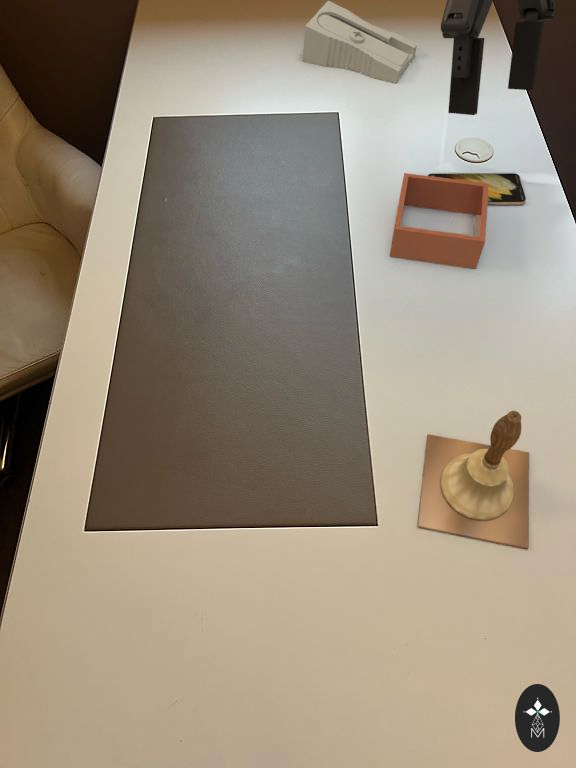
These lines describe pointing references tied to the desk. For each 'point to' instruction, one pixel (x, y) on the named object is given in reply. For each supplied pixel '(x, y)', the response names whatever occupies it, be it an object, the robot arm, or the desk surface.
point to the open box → (438, 243)
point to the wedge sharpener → (355, 45)
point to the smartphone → (494, 185)
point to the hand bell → (483, 475)
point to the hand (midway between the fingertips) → (493, 100)
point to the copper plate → (445, 519)
